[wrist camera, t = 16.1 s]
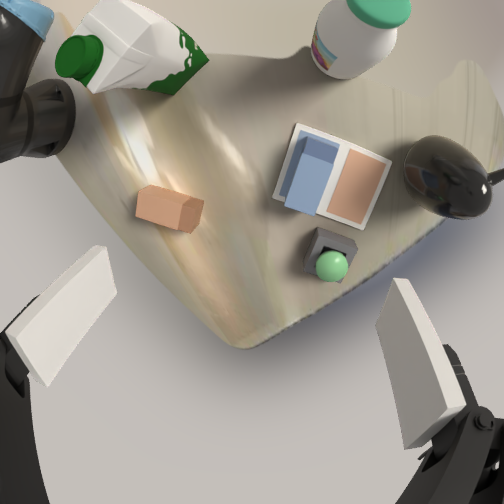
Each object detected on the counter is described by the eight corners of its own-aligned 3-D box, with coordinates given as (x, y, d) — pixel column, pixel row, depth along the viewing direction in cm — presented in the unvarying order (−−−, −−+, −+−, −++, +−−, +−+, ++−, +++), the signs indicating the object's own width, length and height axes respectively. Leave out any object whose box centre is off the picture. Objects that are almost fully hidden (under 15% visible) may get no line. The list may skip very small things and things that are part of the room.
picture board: (272, 197, 39) (271, 198, 38) (296, 122, 33) (296, 122, 33) (362, 229, 39) (363, 230, 38) (391, 161, 33) (392, 161, 33)
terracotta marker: (147, 207, 42) (135, 216, 39) (151, 184, 40) (138, 191, 37) (199, 224, 42) (190, 234, 39) (204, 200, 40) (195, 208, 37)
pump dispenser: (462, 179, 32) (523, 214, 19) (413, 213, 36) (462, 263, 23) (434, 120, 29) (499, 129, 16) (381, 155, 33) (429, 179, 20)
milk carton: (138, 69, 32) (38, 56, 14) (180, 25, 28) (96, -23, 11) (173, 104, 34) (77, 104, 17) (219, 59, 31) (149, 14, 13)
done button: (310, 266, 40) (311, 276, 38) (321, 240, 38) (323, 249, 35) (337, 275, 40) (339, 285, 38) (349, 250, 38) (353, 259, 35)
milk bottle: (372, 41, 26) (435, -14, 8) (360, 88, 30) (425, 62, 12) (317, 22, 26) (334, -55, 9) (304, 69, 30) (314, 18, 12)
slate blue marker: (312, 206, 38) (314, 216, 34) (285, 197, 38) (284, 205, 34) (334, 146, 34) (339, 149, 30) (306, 135, 34) (307, 137, 30)
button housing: (302, 261, 42) (303, 271, 40) (317, 226, 40) (318, 235, 37) (338, 272, 42) (340, 283, 40) (354, 240, 40) (358, 249, 37)
